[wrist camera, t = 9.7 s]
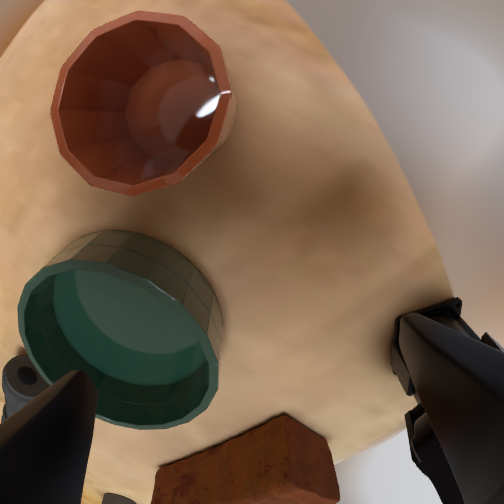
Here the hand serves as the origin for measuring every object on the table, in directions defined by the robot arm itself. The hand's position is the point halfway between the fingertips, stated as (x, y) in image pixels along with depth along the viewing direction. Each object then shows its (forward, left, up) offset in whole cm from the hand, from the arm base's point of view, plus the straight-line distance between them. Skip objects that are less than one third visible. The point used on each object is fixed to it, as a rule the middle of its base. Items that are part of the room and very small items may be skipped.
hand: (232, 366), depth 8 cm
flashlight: (+28, +13, -13) cm, 34 cm away
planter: (+10, +5, -13) cm, 17 cm away
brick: (+7, +26, -13) cm, 30 cm away
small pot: (+2, -8, -13) cm, 15 cm away
